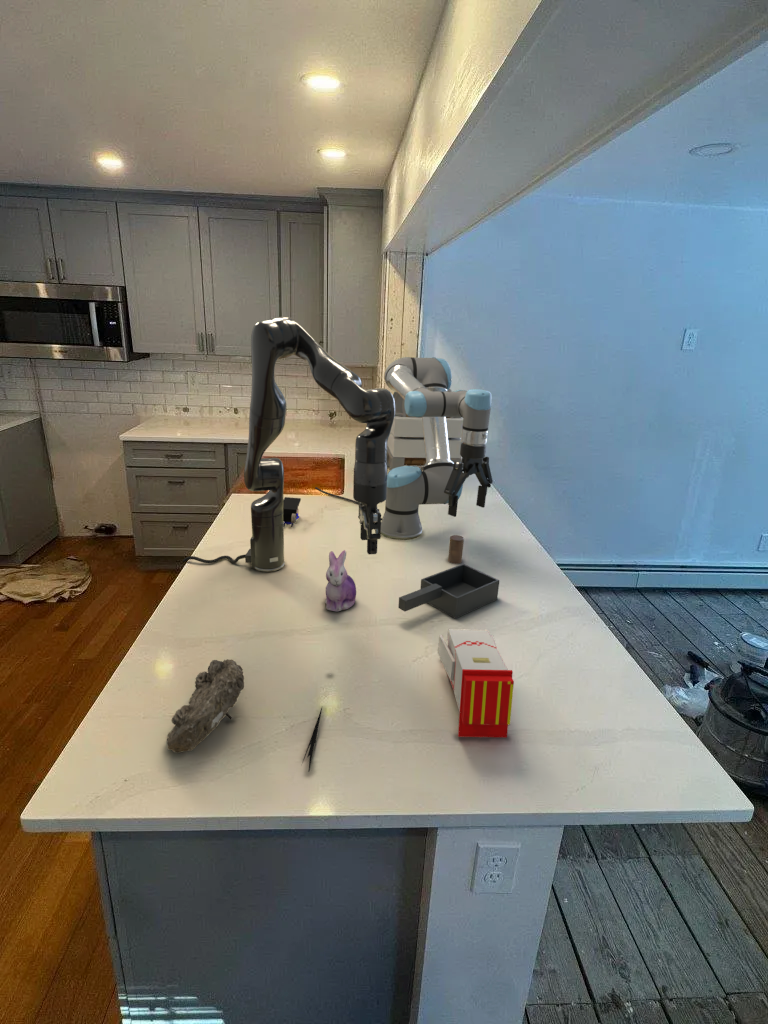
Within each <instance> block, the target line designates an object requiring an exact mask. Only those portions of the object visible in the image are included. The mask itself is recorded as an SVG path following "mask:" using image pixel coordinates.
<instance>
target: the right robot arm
mask: <svg viewBox="0 0 768 1024" xmlns="http://www.w3.org/2000/svg"><path fill="white" fill-rule="evenodd" d="M452 378H453V376H452V370H451V366H450V364H449V362H448V361H447V360H446V359H444V358H440V357H436V356H435V357H434V356H433V357H410V356H405V357H404V356H403V357H399V358H396V359H395V360H394V361H392V362H391V363H389V365H388V366H387V367H386V369H385V371H384V381H385V384H386V386H387V387H388V388H389V390H391V391H392V392H393V393H394V392H398V394H399V395H400V396H401V397H402V398H403V399H404V400H405V402H404V406H405V411H406V414H407V415H408V416H412V417H422V424H423V435H424V445H425V455H426V464H425V465H424V466H422V469H421V467H420V466H407V465H404V466H401V467H397V468H394V469H392V470H390V469H389V470H388V471H387V496H386V500H385V504H384V505H385V507H384V508H385V509H384V513H383V515H382V517H381V536H382V537H385V538H387V539H389V540H395V541H410V540H415V539H418V538H420V537H421V536H422V535H423V525H422V521H421V518H420V515H419V507H420V505H448V508H447V509H448V510H447V515H448V516H451V517H453V518H457V514H458V503H459V500H460V498H461V495H462V492H463V488H464V483H465V481H466V480H467V478H469V477H470V476H472V475H475V477H476V479H477V480H478V481H477V482H479V484H480V485H478V487H477V495H476V504H475V505H476V506H477V507H480V508H485V506H486V499H487V492H488V488H491V487H492V484H493V482H494V481H493V476H492V471H491V467H490V457H489V456H487V455H486V453H487V445H486V444H487V443H488V432H489V431H488V430H489V425H490V419H491V410H492V404H493V403H492V397H493V395H492V393H491V392H490V391H489V390H486V389H479V388H472V389H471V388H470V389H468V390H465V389H457V390H454V392H453V391H452V392H447V390H449V389H450V390H451V386H452V383H453V382H452ZM446 417H461V418H462V419H463V426H462V435H461V438H460V439H461V441H462V442H463V443H461V447H460V455H461V458H462V461H461V462H456V461H455V462H454V463H453V462H452V461H451V460H450V452H449V443H448V433H447V424H446ZM314 489H315V490H317V491H319V492H320V493H322V494H325V495H328V496H330V497H334V498H337V499H339V500H340V499H341V500H343V501H348V502H350V503H353V504H356V505H359V502H357V501H355V500H354V499H352V498H347V497H344V496H340V495H337V494H333V493H330V492H327V491H325V490H322V489H321V488H319V487H317V486H315V487H314Z"/></svg>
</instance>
